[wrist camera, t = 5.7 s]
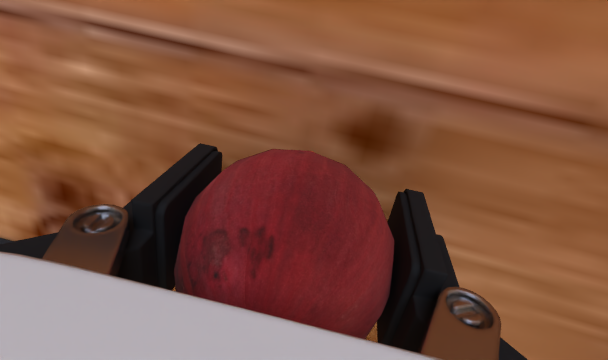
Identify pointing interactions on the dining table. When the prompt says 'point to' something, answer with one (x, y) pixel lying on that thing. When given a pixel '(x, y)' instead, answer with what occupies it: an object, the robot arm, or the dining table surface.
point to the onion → (289, 242)
